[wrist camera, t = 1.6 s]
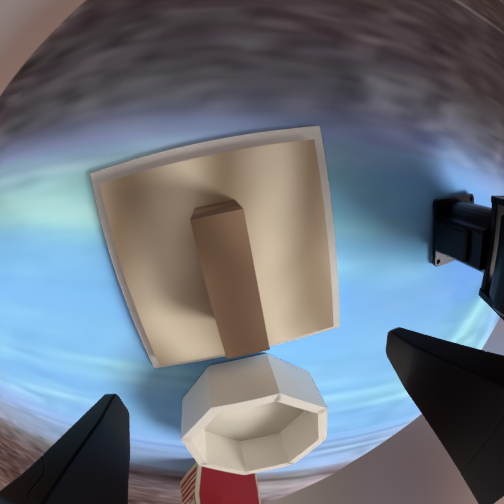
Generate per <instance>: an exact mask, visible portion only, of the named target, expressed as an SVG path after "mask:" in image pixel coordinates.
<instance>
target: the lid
mask: <svg viewBox="0 0 504 504" xmlns="http://www.w3.org/2000/svg"><path fill="white" fill-rule="evenodd" d="M100 187H101V191H102V196H103V200H104V205H105V209H106V213H107V217H108V221H109V225H110V229H111V233H112V236H113V240H114V243H115V247H116V250H117V254H118V257H119V260H120V263H121V267H122V270H123V273H124V276H125V279H126V282H127V285H128V288H129V291H130V293H131V296H132V299H133V302H134V304H135V307H136V310H137V312H138V315H139V318H140V320H141V323H142V325H143V328H144V330H145V333H146V335H147V337H148V340H149V342H150V345H151V347H152V349H153V351H154V354H155V356H156V358H157V360H158V363H159V365H166V364H172V363H179V362H185V361H191V360H197V359H202V358H208V357H213V356H218V355H223V354H225V355H226V358H227V359H230V358H235V357H239V356H244V355H249V354H253V353H257V352H261V351H266V350H270V348H269V344H272V343H276V342H280V341H284V340H287V339H291V338H295V337H299V336H302V335H306V334H309V333H313V332H316V331H320V330H323V329H326V328H330V327H333V326H334V323H333V301H332V284H331V270H330V258H329V247H328V236H327V227H326V218H325V209H324V201H323V193H322V186H321V179H320V172H319V166H318V159H317V153H316V147H315V141H314V139H313V140H304V141H295V142H287V143H279V144H272V145H265V146H258V147H252V148H246V149H240V150H234V151H229V152H223V153H218V154H213V155H208V156H203V157H199V158H194V159H190V160H185V161H181V162H177V163H172V164H168V165H164V166H160V167H157V168H153V169H149V170H145V171H142V172H138V173H135V174H131V175H128V176H124V177H121V178H118V179H114V180H111V181H108V182H105V183H102V184H100Z"/></svg>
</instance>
